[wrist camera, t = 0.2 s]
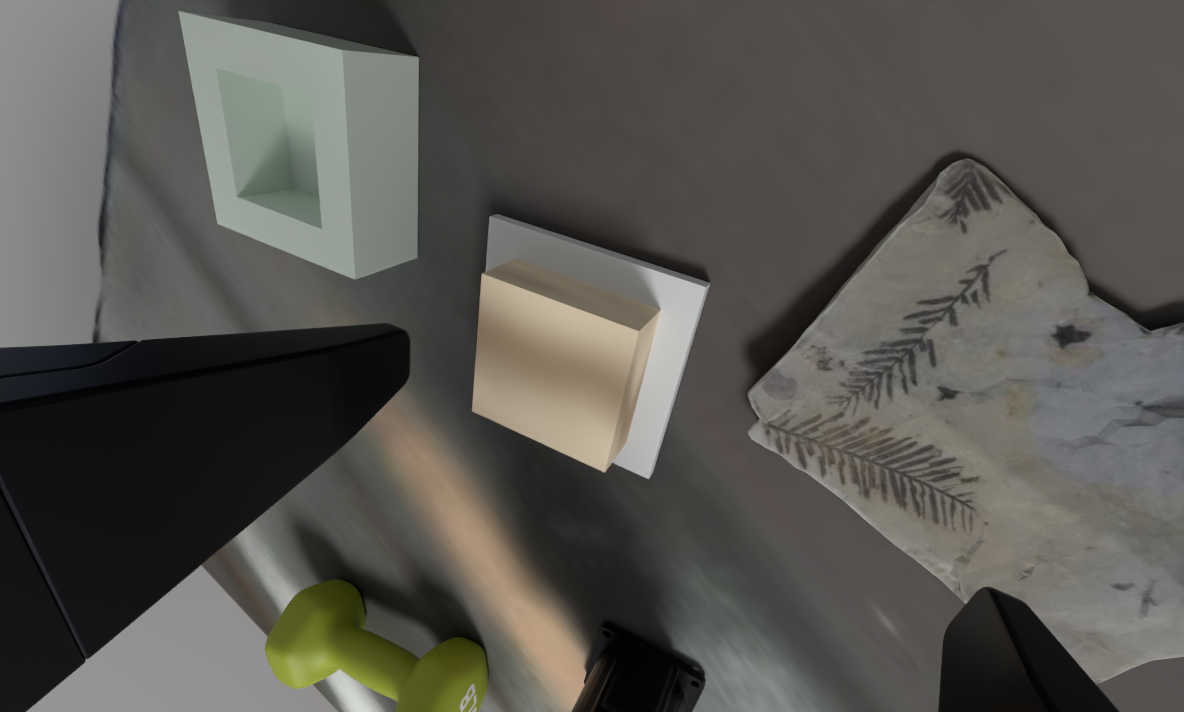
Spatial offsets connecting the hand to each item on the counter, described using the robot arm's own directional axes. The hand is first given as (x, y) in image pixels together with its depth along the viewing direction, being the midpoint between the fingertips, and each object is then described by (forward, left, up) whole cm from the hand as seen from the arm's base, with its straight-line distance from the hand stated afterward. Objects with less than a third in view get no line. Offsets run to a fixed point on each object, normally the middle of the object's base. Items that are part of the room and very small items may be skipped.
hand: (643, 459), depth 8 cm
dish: (-1, +21, -14) cm, 25 cm away
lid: (-7, +7, -13) cm, 17 cm away
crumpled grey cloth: (-3, -11, -15) cm, 19 cm away
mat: (-7, +7, -14) cm, 17 cm away
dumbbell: (-37, +17, -14) cm, 43 cm away
